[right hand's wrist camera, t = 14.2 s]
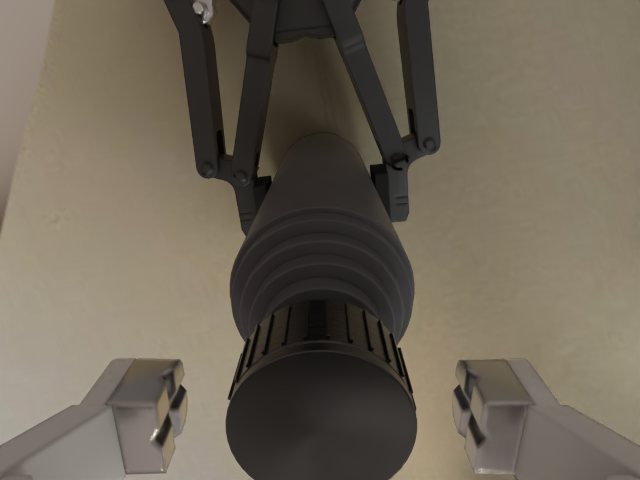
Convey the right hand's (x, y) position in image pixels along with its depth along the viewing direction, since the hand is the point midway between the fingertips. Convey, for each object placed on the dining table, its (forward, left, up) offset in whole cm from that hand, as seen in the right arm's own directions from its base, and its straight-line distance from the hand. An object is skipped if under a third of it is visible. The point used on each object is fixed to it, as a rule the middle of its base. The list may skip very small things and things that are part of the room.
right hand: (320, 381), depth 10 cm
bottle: (0, 0, -23) cm, 23 cm away
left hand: (0, +5, -17) cm, 18 cm away
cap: (0, 0, +1) cm, 1 cm away
